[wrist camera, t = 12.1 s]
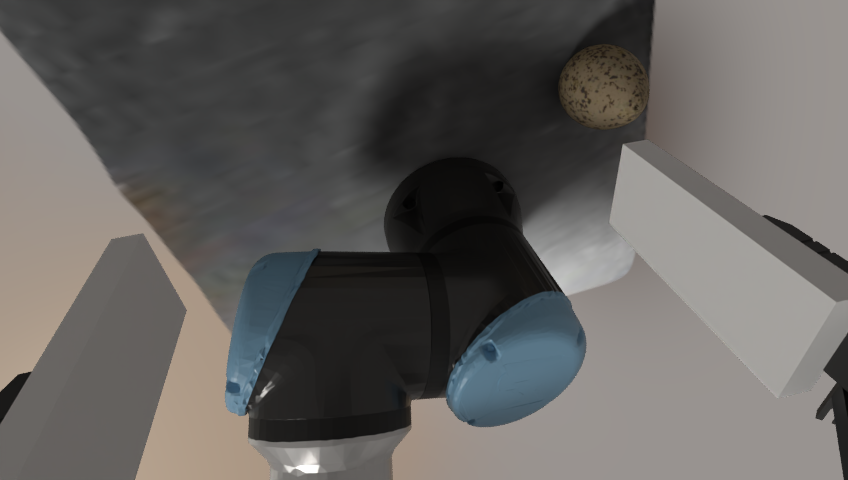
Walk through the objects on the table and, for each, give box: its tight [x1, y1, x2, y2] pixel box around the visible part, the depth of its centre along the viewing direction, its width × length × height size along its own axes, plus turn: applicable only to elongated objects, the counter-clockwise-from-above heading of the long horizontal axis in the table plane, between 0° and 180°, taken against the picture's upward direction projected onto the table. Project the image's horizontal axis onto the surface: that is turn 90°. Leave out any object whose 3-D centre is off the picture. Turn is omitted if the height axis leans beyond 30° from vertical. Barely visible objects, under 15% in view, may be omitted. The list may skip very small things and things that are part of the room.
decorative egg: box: [558, 44, 649, 130], centre depth 41 cm, size 7×7×10 cm
